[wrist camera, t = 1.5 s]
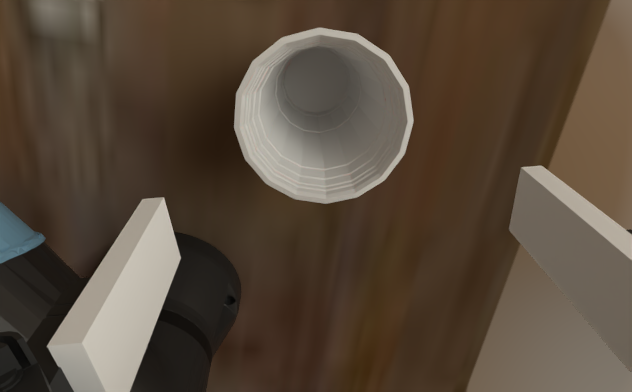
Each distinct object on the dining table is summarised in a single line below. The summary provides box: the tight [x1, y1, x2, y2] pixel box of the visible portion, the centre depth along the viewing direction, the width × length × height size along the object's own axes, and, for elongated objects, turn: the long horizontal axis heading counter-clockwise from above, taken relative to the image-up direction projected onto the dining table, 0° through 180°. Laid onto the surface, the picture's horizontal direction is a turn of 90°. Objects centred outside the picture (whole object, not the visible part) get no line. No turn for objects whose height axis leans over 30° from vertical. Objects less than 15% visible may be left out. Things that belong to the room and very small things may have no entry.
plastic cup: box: [234, 28, 414, 204], centre depth 29 cm, size 11×11×12 cm
